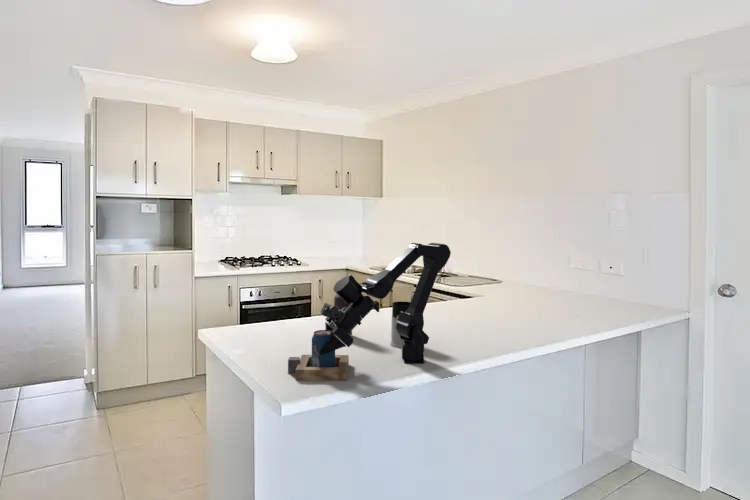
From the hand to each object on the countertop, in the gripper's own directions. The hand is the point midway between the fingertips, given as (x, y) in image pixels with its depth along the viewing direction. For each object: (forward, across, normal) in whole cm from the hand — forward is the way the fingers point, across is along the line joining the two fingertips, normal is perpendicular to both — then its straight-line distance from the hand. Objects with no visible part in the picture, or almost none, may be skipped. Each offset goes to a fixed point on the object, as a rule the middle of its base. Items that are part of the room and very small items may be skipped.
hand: (318, 350), depth 150 cm
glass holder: (-18, -27, +28) cm, 43 cm away
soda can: (+4, 0, +6) cm, 7 cm away
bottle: (-5, -40, +15) cm, 43 cm away
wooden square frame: (+5, 0, +5) cm, 7 cm away
